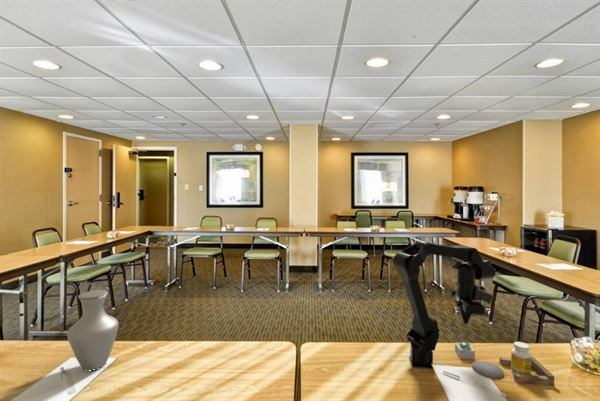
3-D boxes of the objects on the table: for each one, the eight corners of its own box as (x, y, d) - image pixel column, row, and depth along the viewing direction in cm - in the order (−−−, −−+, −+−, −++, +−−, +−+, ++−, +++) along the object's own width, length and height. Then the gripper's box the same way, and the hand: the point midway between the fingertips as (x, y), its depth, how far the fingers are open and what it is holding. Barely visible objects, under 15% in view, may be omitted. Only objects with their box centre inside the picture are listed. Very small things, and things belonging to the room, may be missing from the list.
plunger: (461, 355, 110) (461, 345, 110) (458, 350, 113) (458, 341, 113) (471, 356, 109) (471, 346, 109) (467, 351, 112) (467, 342, 112)
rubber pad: (478, 377, 98) (478, 375, 98) (467, 361, 107) (467, 360, 107) (509, 380, 96) (509, 378, 96) (496, 364, 105) (496, 362, 105)
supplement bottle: (515, 366, 104) (515, 339, 103) (534, 374, 99) (534, 345, 99) (507, 372, 101) (508, 343, 100) (526, 380, 96) (527, 350, 96)
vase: (128, 355, 111) (127, 287, 110) (98, 380, 96) (96, 302, 96) (91, 353, 112) (90, 286, 111) (56, 377, 98) (54, 300, 97)
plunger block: (459, 358, 109) (459, 349, 109) (455, 350, 114) (455, 342, 114) (474, 359, 108) (475, 351, 108) (469, 352, 113) (469, 344, 113)
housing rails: (516, 382, 95) (516, 373, 95) (499, 362, 106) (499, 354, 106) (554, 386, 93) (554, 376, 93) (533, 365, 104) (533, 357, 104)
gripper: (503, 290, 100) (502, 337, 100) (479, 274, 118) (479, 314, 119) (466, 288, 102) (466, 335, 102) (448, 273, 120) (448, 312, 120)
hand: (465, 323), depth 111 cm, fingers closed
